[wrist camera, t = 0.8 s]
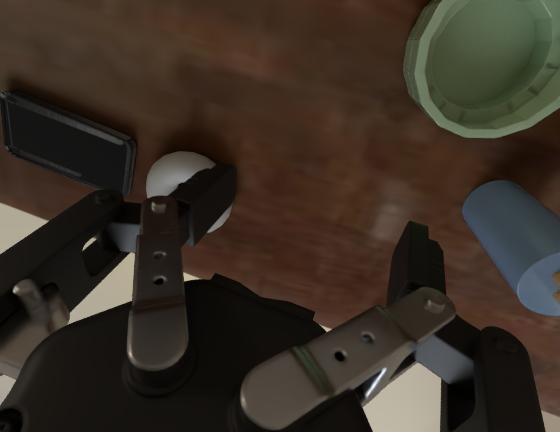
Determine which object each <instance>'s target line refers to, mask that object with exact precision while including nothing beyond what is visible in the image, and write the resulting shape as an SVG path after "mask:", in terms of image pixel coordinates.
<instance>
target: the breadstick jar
mask: <svg viewBox="0 0 560 432" xmlns="http://www.w3.org/2000/svg"><path fill="white" fill-rule="evenodd" d="M462 215H463V219H464V221H465V222H466V224H467V225H468V227H469V228H470V229H471V231H472V232H473V234H474V235H475V237H476V238H477V240H478V241H479V242H480V244H481V245H482V247H483V248H484V250H485V251H486V252H487V254H488V255H489V257H490V258H491V260H492V261H493V262H494V264H495V265H496V267H497V268H498V270H499V271H500V273H501V274H502V275H503V277H504V278H505V280H506V281H507V283H508V284H509V285H510V287H511V288H512V290H513V291H514V293H515V294H516V296H517V297H518V298H519V300H520V301H521V303H522V304H523V305H524V306H525V307H527V308H528V309H530V310H532V311H534V312H537V313H540V314H544V315H551V316H560V217H559V216H558V215H557V214H555V213H554V212H553V211H552V210H550V209H549V208H548V207H547V206H545V205H544V204H543V203H542V202H540V201H539V200H538V199H537V198H535V197H534V196H533V195H532V194H530V193H529V192H528V191H527V190H525V189H524V188H523V187H522V186H520V185H519V184H517V183H515V182H512V181H507V180H497V181H491V182H488V183H485V184H483V185H481V186H479V187H478V188H476V189H475V190H474V191H472V192H471V193H470V194H469V196H468V197H467V198H466V200H465V202H464V204H463V208H462Z"/></svg>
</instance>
